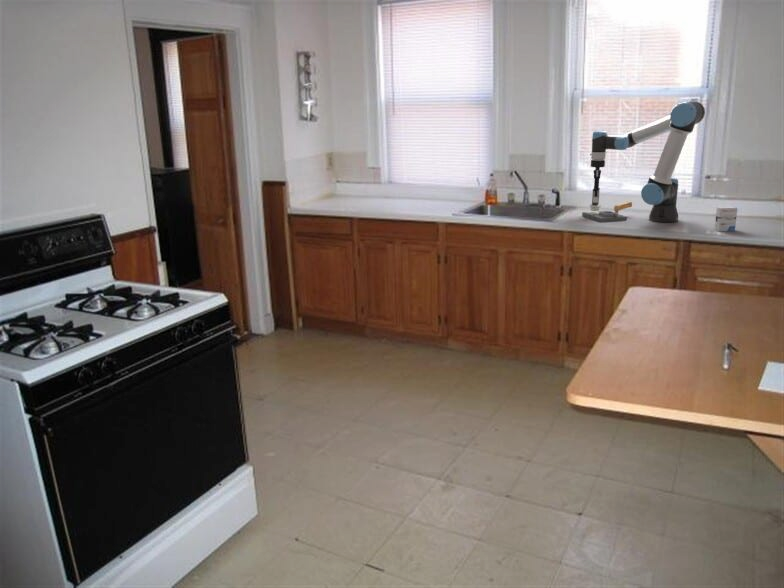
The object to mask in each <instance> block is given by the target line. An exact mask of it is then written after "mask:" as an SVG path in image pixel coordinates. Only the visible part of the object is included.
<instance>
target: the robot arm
mask: <svg viewBox="0 0 784 588" xmlns="http://www.w3.org/2000/svg"><path fill="white" fill-rule="evenodd" d="M705 114H706V110H705V106H704V105H703V104H702V103H700V102H699V101H696V100H695V101H694V100H693V101H692V100H691V101H682V102H680V103H677V104H675V106H673V108H672V109H671V111H670V114H669V115H668V116H665V117H663V118H660V119H659V120H656V121H654V122H651V123H649V124H647V125H644V126H642V127H639V128H637V129H635V130H632V131H629V132H628V133H624V134H618V135H609V134H608V132H607V131H606V130H595V131H593V132H592V136H591V137H592V139H591V153H590V157H591V158H590V159H591V160H590V168H594V169H593V179H594V182H593V183H594V185H593V189H594V190H593V189H592V195H593V203H598V193H599V194H600V190H601V188H600V179H601V174H602V169H600V168H605V166H606V155H607V154H606V153H607V152H606V150H615V151H625V150H627V149H628V148H632V147H635V146H636V145H638V144H641V143H643V142H645V141H648V140H651V139H654V138H655V137H658V136H660V135H661V136H662V135H663V134H666V133H668V132H669V134H668V136H667V139H666V141H665V144H664V147H663V149H662V152H661V155H660V156H659V160H658V162H657V164H656V168H655V170H654V173H653V174H652V175H650V176H649V178H648V181H647V183H646V184H644V185H643V187H642V189H641V191H640V195H641V198H642V201H643V202H644V203H646V204H647V205H649V206H652V208H651V211H650V213H649V215H648V220H649V221H652V222H657V223H676V222H678V221H679V213H678V209H677V200H678V192H679V190H678V189H679V179H677V178H674V177H673V173H674V171H675V168H676V165H677V163H678V161H679V158H680V155H681V152H682V150H683V148H684V146H685V142H686V140H687V138H688V135H689V134H691V133H693V131H694V128H695V125H697V124H699V123H701V122H702V120H703V119H704V117H705ZM672 177H673V178H672ZM599 189H600V190H599ZM598 190H599V191H598ZM593 191H594V193H593Z"/></svg>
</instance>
